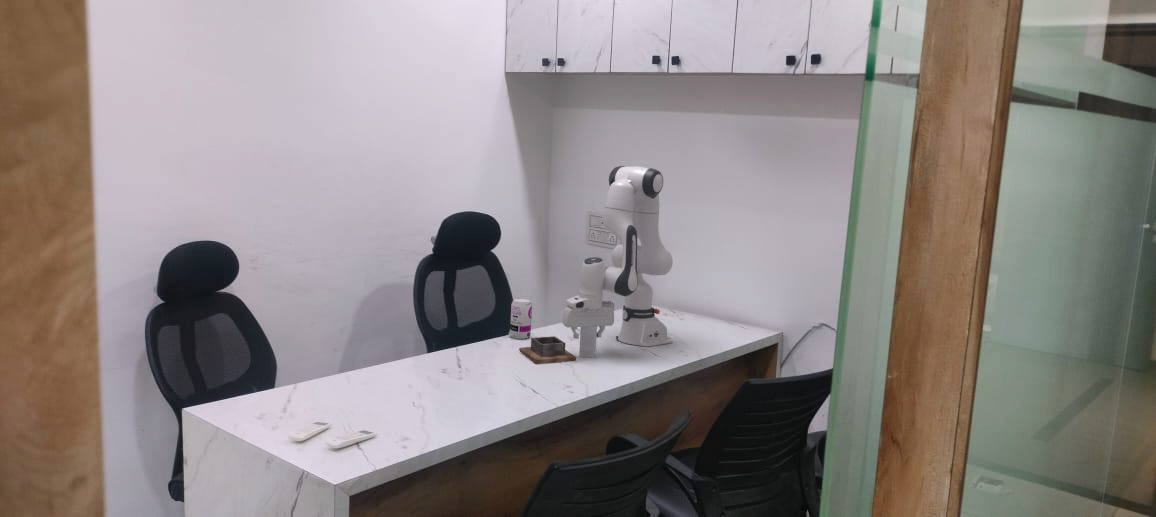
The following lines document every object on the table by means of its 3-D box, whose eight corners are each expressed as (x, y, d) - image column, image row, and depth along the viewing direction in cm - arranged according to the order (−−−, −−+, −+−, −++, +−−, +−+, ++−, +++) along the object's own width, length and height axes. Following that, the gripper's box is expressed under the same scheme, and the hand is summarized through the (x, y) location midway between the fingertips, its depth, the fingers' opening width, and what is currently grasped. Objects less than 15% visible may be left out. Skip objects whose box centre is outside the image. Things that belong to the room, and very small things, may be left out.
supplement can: (531, 335, 320) (533, 299, 318) (528, 340, 312) (530, 303, 310) (512, 333, 321) (513, 297, 319) (508, 338, 313) (510, 301, 311)
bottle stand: (558, 348, 304) (558, 333, 303) (576, 360, 289) (577, 345, 288) (519, 351, 297) (520, 336, 296) (535, 364, 282) (536, 347, 281)
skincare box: (594, 354, 299) (596, 323, 297) (595, 357, 295) (597, 326, 293) (578, 353, 299) (580, 322, 297) (579, 356, 295) (581, 325, 293)
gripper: (610, 299, 301) (607, 334, 303) (562, 300, 292) (559, 336, 294) (618, 302, 295) (615, 338, 297) (569, 303, 286) (566, 341, 288)
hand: (587, 337), depth 295 cm, fingers open, 8 cm apart
